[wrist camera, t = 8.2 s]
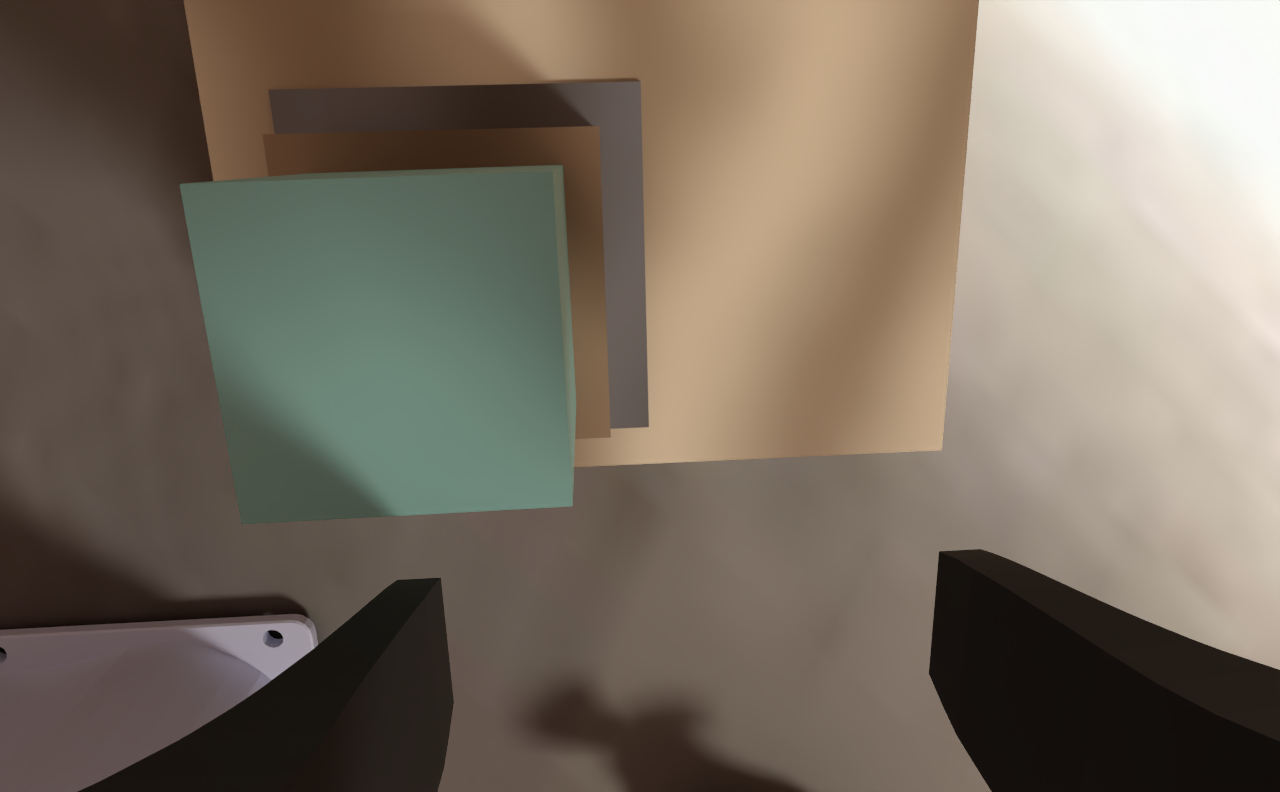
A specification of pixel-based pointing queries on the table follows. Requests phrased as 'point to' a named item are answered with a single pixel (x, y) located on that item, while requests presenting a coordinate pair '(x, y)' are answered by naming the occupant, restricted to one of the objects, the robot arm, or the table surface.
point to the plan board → (680, 185)
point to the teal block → (390, 339)
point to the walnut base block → (496, 150)
